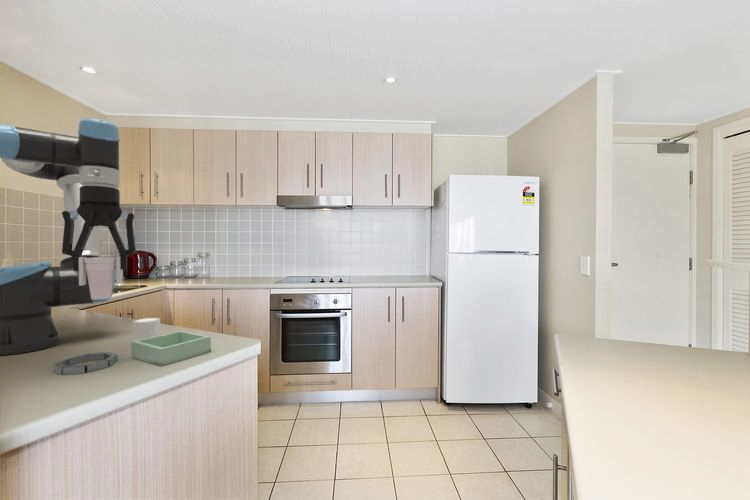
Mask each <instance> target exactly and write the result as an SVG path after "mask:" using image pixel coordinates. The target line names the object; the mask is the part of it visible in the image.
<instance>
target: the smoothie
mask: <svg viewBox="0 0 750 500" xmlns="http://www.w3.org/2000/svg"><path fill="white" fill-rule="evenodd" d="M102 255H103V250H102V239H101V240H99V257H93V258H84V262H85V264H86V271H87V277H88V283H89V289H90V295H91V299H93V300H97V299H108V298H110V299H112V297H111V293H112V286H113V279H114V272H115V269H116V257H107V256H105V257H102Z"/></svg>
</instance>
